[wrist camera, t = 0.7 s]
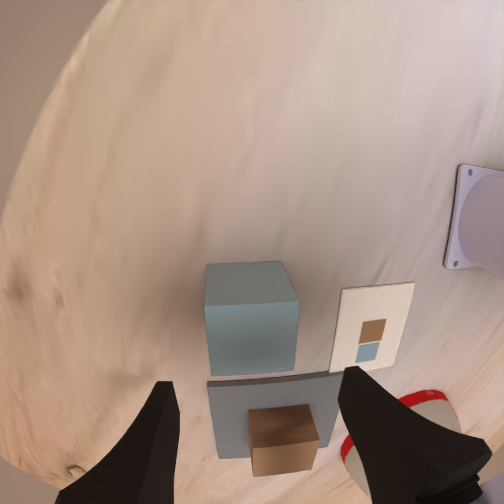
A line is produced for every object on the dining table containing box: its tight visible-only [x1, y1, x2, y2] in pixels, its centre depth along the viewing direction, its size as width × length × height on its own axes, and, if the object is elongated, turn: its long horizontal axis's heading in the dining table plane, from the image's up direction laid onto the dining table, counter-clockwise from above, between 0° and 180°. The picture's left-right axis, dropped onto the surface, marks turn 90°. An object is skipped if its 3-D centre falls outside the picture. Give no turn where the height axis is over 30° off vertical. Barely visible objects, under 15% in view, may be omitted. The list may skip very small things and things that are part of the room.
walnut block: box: [248, 404, 320, 477], centre depth 23 cm, size 5×5×4 cm
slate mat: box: [207, 371, 344, 459], centre depth 25 cm, size 11×11×1 cm
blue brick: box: [204, 261, 300, 376], centre depth 18 cm, size 4×4×5 cm
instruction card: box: [329, 282, 415, 373], centre depth 22 cm, size 6×8×1 cm
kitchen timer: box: [341, 390, 462, 500], centre depth 22 cm, size 14×14×15 cm
